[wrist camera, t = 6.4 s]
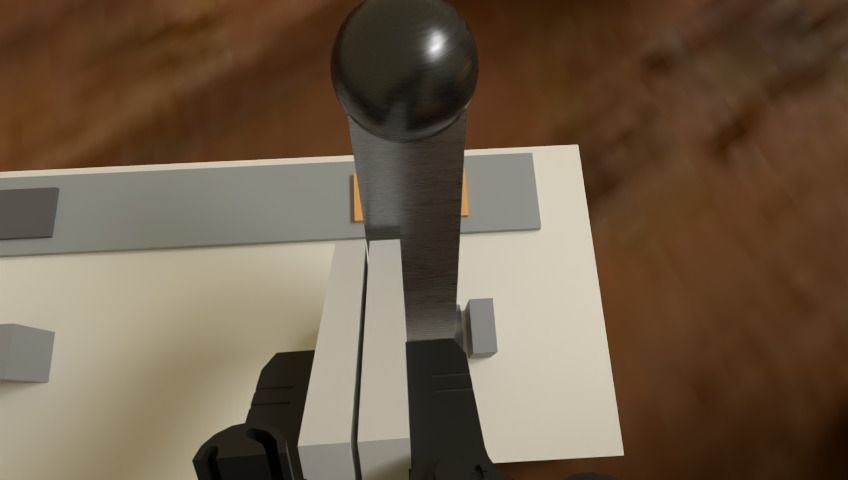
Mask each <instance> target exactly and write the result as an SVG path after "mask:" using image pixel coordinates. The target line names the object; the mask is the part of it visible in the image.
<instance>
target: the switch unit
mask: <svg viewBox="0 0 848 480" xmlns="http://www.w3.org/2000/svg"><path fill="white" fill-rule="evenodd" d="M362 241H366V236H365V229H364V222H363V216H362V209H361V202H360V196H359V189H358V182H357V176H356V169H355V162H354V156H353V155H350V156H329V157H308V158H287V159H266V160H245V161H224V162H203V163H182V164H161V165H139V166H118V167H97V168H76V169H55V170H34V171H13V172H0V480H198V478H197V475H196V472H195V469H194V465H193V462H192V459H193V458H194V456H195V455H196V453H197V451H198V450H199V448H200V447H201V446H202V445H203V444H204V443H205V442H206V441H207V440H209V439H210V438H211V437H212V436H213V435H214V434H216V433H218V432H220V431H222V430H224V429H226V428H228V427H230V426H233V425H238V424H242V423H245V421H246V418H247V415H248V412H249V409H251V402H252V399H253V395H254V393H255V392H256V386H257V382H258V379H259V376H260V373H261V370H262V369H263V367H264V366H265V365H266V364H267V363H268V362H269V361H270V360H271V358H272V357H273V356H274V355H275V354H276V353H278V352H292V351H306V350H315V349H316V344H317V339H318V333H319V328H320V323H321V317H322V312H323V306H324V301H325V296H326V290H327V285H328V280H329V274H330V269H331V263H332V258H333V253H334V247H335V243H347V242H362ZM366 251H367V261H368V262H369V256H368V249H367V242H366ZM456 304H459V305H460V309H461V316H462V327H463V351H464V352H465V353H466V356H467V361H468V365H469V370H470V375H471V380H472V385H473V390H474V395H475V400H476V405H477V410H478V415H479V420H480V425H481V430H482V435H483V439H484V444H485V448H486V451H487V454H488V456H489V458H490V459H491V461H492V462H493V463H504V462H521V461H538V460H555V459H571V458H588V457H605V456H622V455H624V452H623V445H622V438H621V431H620V425H619V418H618V411H617V404H616V398H615V391H614V384H613V377H612V371H611V364H610V357H609V350H608V344H607V337H606V330H605V323H604V317H603V310H602V303H601V296H600V290H599V283H598V276H597V269H596V263H595V256H594V249H593V242H592V236H591V229H590V222H589V215H588V209H587V202H586V195H585V188H584V182H583V175H582V168H581V161H580V155H579V148H578V145H561V146H540V147H519V148H498V149H477V150H464V168H463V187H462V206H461V226H460V245H459V264H458V284H457V303H456Z"/></svg>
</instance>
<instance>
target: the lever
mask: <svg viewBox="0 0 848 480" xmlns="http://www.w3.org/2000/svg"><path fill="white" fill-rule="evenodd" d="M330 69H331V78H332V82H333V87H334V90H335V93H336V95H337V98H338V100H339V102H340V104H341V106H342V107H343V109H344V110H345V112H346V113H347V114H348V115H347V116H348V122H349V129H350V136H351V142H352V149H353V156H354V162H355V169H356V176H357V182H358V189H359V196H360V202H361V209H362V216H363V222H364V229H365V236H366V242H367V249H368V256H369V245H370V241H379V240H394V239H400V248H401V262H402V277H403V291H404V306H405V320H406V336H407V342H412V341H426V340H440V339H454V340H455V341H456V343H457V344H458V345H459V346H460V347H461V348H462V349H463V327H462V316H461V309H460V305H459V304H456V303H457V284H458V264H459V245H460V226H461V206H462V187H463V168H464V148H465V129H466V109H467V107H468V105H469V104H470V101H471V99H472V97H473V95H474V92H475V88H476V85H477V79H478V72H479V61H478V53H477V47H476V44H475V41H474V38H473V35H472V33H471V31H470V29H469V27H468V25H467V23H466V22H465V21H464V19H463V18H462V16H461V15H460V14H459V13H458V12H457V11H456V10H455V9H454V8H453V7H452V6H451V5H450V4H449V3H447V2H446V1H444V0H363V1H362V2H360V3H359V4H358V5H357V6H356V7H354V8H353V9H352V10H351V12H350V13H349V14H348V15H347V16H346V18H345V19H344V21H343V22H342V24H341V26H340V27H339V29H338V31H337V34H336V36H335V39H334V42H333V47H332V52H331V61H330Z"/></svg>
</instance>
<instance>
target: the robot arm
mask: <svg viewBox="0 0 848 480" xmlns="http://www.w3.org/2000/svg"><path fill="white" fill-rule="evenodd" d="M192 462H193V465H194V469H195V472H196V475H197V478H198V480H515V479H513V478H511V477H509V476H507V475H505V474H504V473H503V472H502V471H501V470H499V469H498V468H497V467H496V466H495V465H494V464H493V462H492V461H491V459H490V458H489V456H488V454H487V451H486V448H485V444H484V439H483V435H482V430H481V425H480V420H479V415H478V410H477V405H476V400H475V395H474V390H473V385H472V380H471V375H470V370H469V365H468V361H467V356H466V353H465V352H464V351H463V349H462V348H461V347H460V346H459V345H458V344H457V343H456V341H455V340H454V339H440V340H426V341H412V342H407V336H406V320H405V306H404V291H403V277H402V262H401V248H400V239H394V240H379V241H370V245H369V262H368V261H367V251H366V241H362V242H347V243H335V247H334V253H333V258H332V263H331V269H330V274H329V280H328V285H327V290H326V296H325V301H324V306H323V312H322V317H321V323H320V328H319V333H318V339H317V344H316V349H315V350H306V351H292V352H278V353H276V354H275V355H274V356H273V357H272V358H271V360H270V361H269V362H268V363H267V364H266V365H265V366H264V367H263V369H262V370H261V373H260V376H259V379H258V382H257V386H256V392H255V393H254V395H253V399H252V402H251V409H249V412H248V415H247V418H246V421H245V423H242V424H238V425H233V426H230V427H228V428H226V429H224V430H222V431H220V432H218V433H216V434H214V435H213V436H212V437H211V438H210V439H209V440H207V441H206V442H205V443H204V444H203V445H202V446H201V447H200V448H199V450H198V451H197V453H196V455H195V456H194V458H193V459H192ZM564 480H617V479H615V478H613V477H611V476H608V475H603V474H598V473H593V472H588V473H579V474H574V475H572V476H570V477H568V478H566V479H564Z"/></svg>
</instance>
